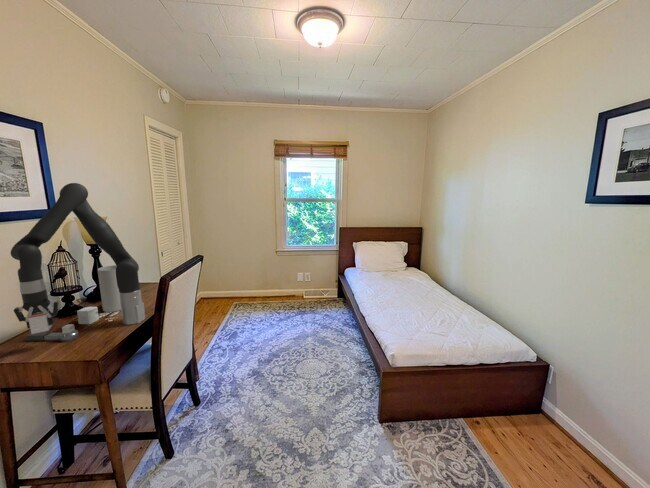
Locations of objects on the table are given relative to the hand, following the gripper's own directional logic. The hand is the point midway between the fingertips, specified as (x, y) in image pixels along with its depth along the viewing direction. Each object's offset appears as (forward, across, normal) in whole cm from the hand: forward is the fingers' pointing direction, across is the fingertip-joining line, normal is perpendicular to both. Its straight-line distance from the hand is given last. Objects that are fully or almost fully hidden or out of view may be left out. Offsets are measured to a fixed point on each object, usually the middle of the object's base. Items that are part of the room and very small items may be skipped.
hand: (41, 326), depth 122 cm
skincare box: (+10, -13, -21) cm, 27 cm away
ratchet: (+9, -1, -7) cm, 12 cm away
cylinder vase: (+10, -24, -36) cm, 44 cm away
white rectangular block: (+2, 0, 0) cm, 2 cm away
